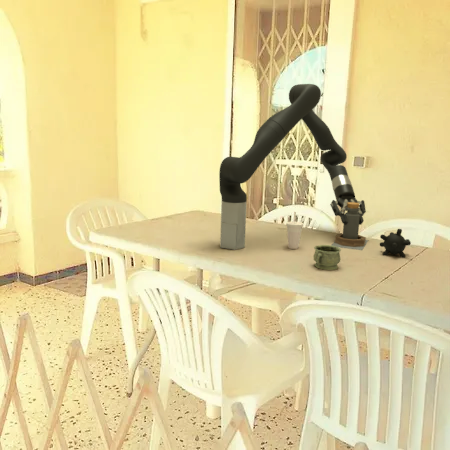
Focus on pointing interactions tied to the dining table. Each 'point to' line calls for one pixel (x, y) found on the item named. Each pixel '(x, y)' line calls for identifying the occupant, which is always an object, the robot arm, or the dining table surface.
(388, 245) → the toy ball
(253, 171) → the robot arm
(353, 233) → the bottle
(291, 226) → the smoothie
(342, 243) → the ring
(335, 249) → the vessel
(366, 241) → the mat
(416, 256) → the dining table surface
